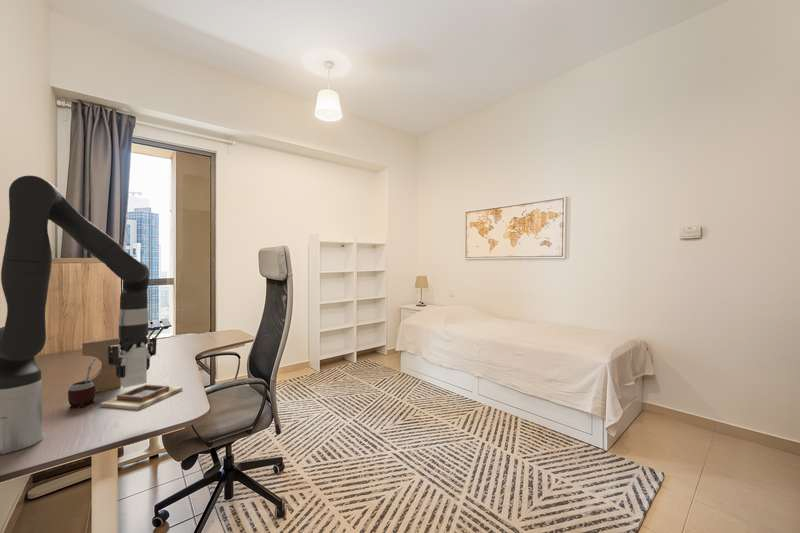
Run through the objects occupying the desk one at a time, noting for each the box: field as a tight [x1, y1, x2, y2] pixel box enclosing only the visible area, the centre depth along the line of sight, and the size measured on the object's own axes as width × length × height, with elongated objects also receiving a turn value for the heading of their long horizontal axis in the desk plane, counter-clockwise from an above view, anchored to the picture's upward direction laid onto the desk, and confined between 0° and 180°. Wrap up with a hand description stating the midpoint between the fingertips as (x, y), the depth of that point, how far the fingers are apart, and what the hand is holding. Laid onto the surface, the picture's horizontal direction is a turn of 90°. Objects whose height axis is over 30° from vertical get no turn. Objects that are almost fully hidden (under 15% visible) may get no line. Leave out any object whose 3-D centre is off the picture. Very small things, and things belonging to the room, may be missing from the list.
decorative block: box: [81, 336, 122, 394], centre depth 132 cm, size 11×6×20 cm, turn 134°
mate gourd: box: [67, 358, 96, 409], centre depth 118 cm, size 8×8×15 cm
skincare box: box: [121, 345, 148, 389], centre depth 106 cm, size 6×4×12 cm
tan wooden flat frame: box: [100, 383, 183, 411], centre depth 123 cm, size 18×16×3 cm
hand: (133, 373), depth 106 cm, fingers closed on skincare box, 7 cm apart
